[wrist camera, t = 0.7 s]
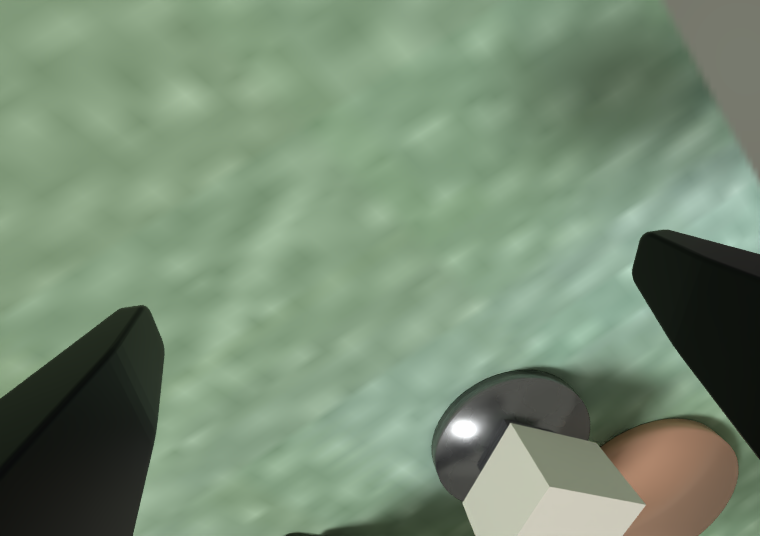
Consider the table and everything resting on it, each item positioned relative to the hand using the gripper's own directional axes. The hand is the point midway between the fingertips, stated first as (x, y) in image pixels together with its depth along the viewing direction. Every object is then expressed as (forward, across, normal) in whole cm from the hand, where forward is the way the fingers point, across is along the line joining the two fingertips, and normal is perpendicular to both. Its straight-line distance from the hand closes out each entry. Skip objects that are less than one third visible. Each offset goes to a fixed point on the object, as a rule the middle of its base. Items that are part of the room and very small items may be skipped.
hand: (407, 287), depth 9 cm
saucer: (+11, -19, +29) cm, 36 cm away
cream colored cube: (+9, -8, +21) cm, 24 cm away
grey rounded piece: (+12, -8, +21) cm, 25 cm away
